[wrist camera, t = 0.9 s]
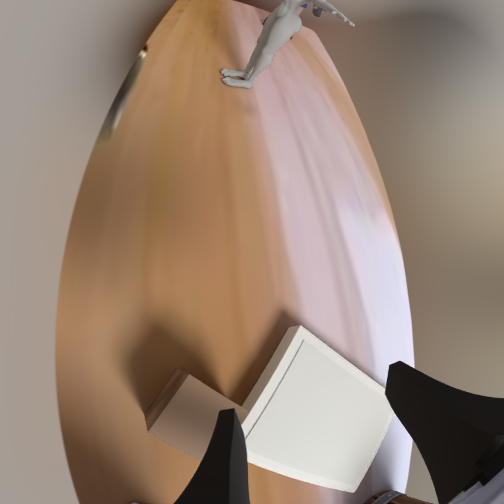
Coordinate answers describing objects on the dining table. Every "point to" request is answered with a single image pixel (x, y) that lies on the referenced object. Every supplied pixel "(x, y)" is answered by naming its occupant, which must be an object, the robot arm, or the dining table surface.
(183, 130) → the dining table surface
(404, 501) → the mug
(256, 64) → the figurine
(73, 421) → the dining table surface
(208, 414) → the walnut block
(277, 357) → the white tray
